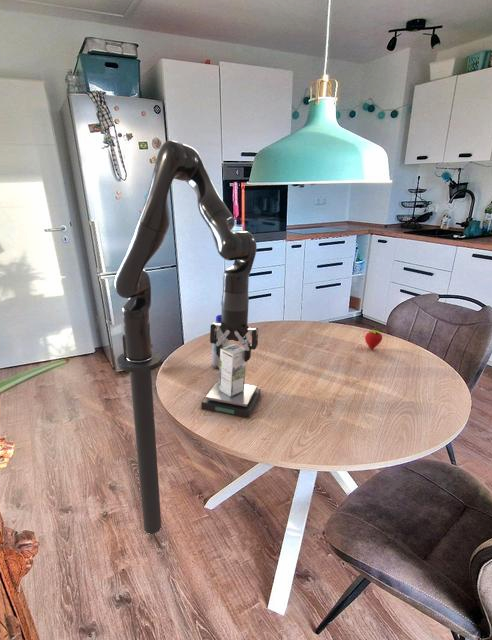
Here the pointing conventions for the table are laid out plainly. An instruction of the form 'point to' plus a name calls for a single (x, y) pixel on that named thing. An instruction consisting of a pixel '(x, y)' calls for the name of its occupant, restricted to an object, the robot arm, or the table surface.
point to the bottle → (225, 343)
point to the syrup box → (232, 370)
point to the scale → (231, 406)
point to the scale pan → (237, 399)
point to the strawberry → (373, 338)
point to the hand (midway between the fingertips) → (233, 358)
